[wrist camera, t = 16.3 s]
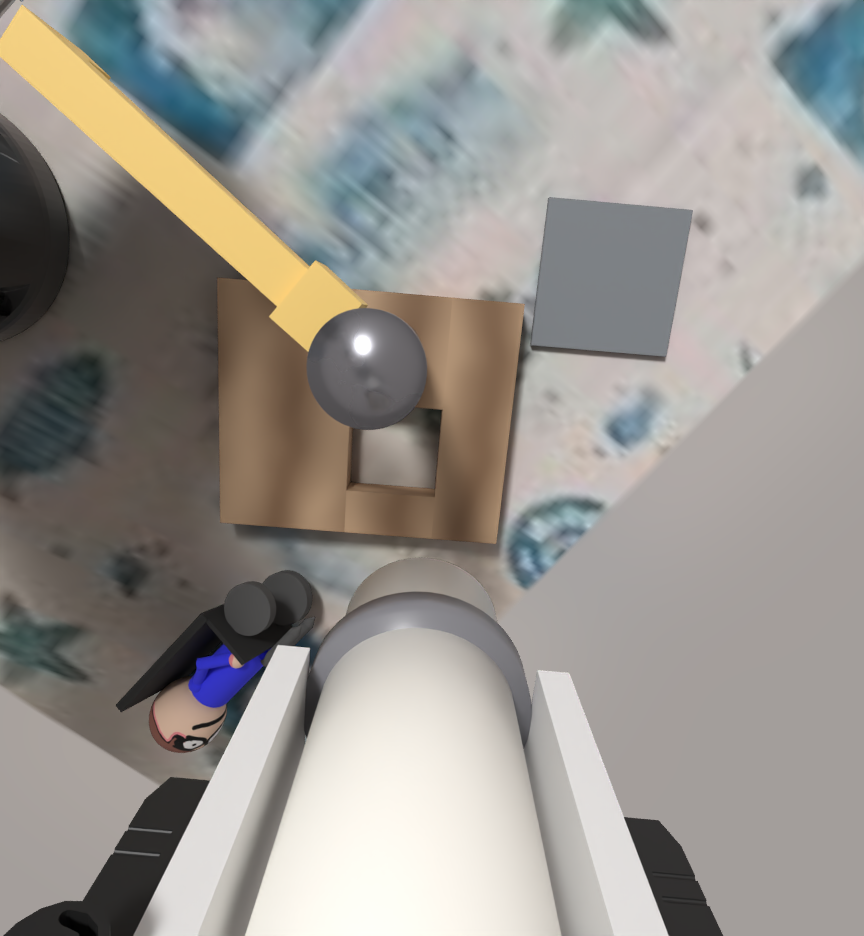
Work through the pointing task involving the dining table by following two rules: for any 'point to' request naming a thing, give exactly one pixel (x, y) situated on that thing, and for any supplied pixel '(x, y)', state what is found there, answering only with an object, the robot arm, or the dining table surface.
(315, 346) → the post
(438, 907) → the plug
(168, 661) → the character figurine
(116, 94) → the bar
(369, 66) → the dining table surface
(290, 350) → the socket board
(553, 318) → the mat
